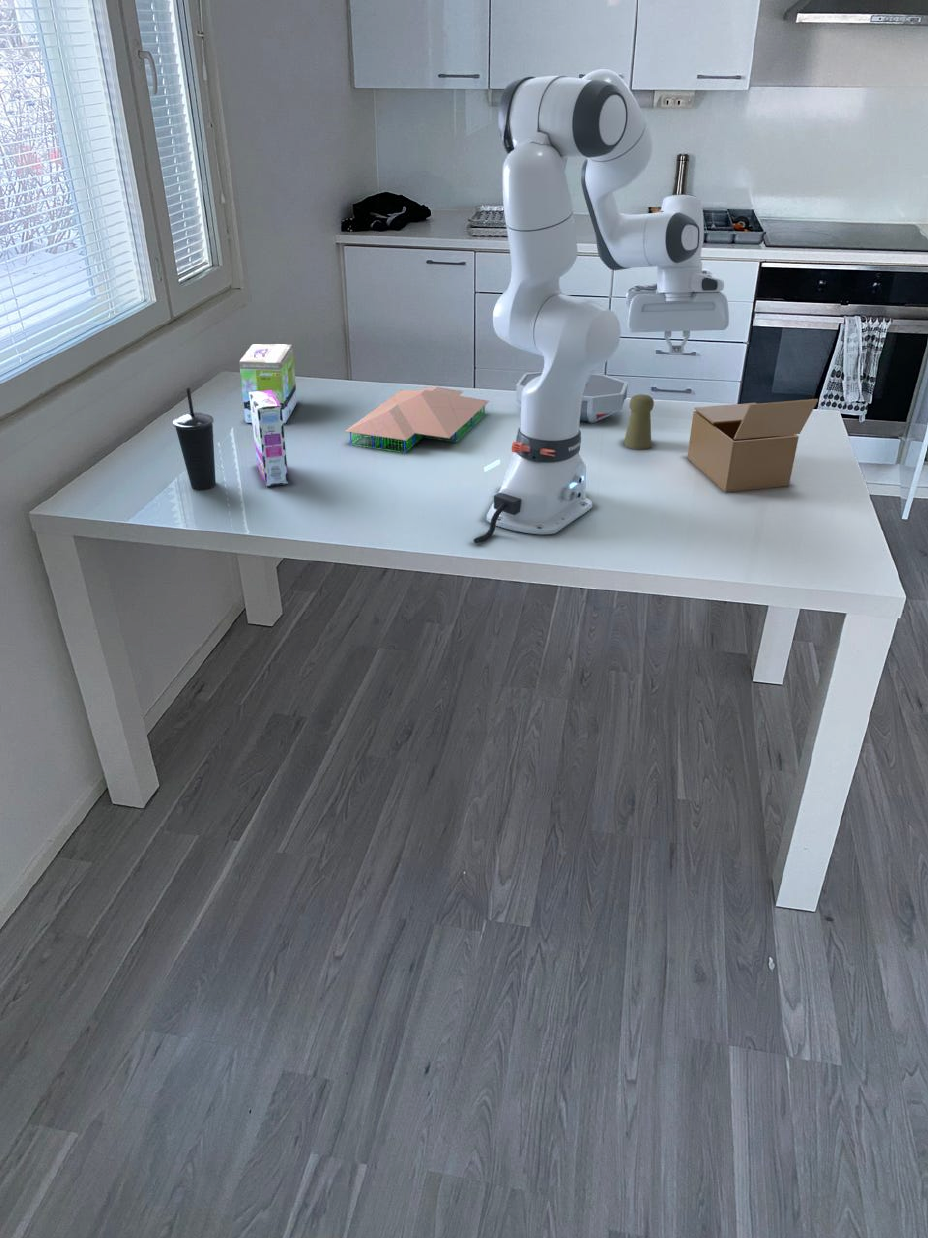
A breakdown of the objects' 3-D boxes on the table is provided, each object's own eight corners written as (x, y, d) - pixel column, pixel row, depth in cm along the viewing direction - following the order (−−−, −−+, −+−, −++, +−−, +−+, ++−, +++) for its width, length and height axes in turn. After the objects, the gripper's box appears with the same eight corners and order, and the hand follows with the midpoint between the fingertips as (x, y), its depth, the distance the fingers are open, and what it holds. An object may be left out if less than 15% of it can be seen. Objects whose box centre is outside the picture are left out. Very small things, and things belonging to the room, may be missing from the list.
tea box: (287, 424, 218) (281, 361, 210) (244, 423, 218) (236, 360, 210) (298, 402, 231) (292, 342, 223) (257, 402, 231) (250, 342, 223)
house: (492, 410, 226) (493, 377, 222) (441, 459, 200) (441, 422, 196) (406, 399, 233) (405, 366, 229) (345, 445, 207) (343, 409, 203)
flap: (799, 432, 183) (799, 433, 183) (733, 438, 180) (734, 439, 180) (817, 398, 176) (818, 400, 175) (749, 404, 173) (750, 405, 173)
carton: (788, 485, 189) (799, 432, 183) (725, 492, 186) (733, 438, 180) (746, 452, 204) (755, 402, 198) (687, 458, 201) (694, 407, 195)
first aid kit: (511, 421, 220) (617, 431, 214) (512, 390, 216) (620, 399, 210) (527, 397, 234) (627, 406, 229) (528, 368, 230) (630, 376, 225)
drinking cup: (189, 495, 184) (172, 397, 174) (180, 481, 190) (163, 385, 180) (227, 488, 187) (213, 390, 177) (217, 474, 193) (203, 379, 182)
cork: (654, 441, 209) (659, 393, 203) (647, 451, 204) (652, 402, 199) (628, 437, 211) (632, 389, 205) (620, 446, 207) (624, 398, 201)
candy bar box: (290, 484, 189) (282, 405, 180) (266, 487, 188) (256, 408, 179) (280, 464, 198) (272, 388, 189) (256, 467, 197) (247, 390, 188)
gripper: (626, 285, 188) (624, 356, 192) (731, 281, 184) (727, 354, 188) (627, 285, 193) (625, 354, 198) (729, 281, 189) (725, 352, 194)
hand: (676, 354), depth 193 cm, fingers closed
